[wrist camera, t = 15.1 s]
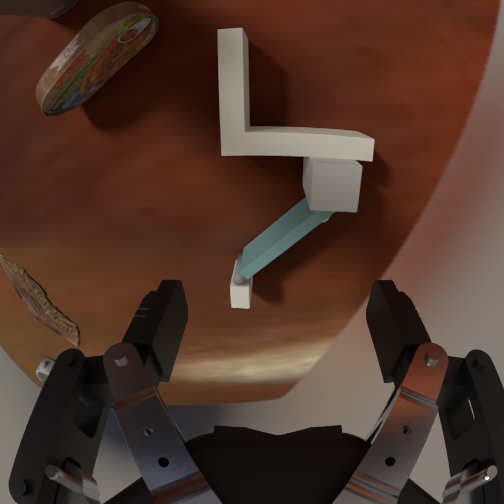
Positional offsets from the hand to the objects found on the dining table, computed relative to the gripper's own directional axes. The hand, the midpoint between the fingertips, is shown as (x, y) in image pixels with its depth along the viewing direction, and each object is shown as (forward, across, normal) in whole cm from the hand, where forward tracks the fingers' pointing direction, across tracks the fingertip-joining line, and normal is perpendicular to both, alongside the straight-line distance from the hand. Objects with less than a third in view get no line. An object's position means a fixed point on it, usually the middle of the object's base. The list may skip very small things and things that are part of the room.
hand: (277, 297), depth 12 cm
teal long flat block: (+20, -1, +7) cm, 21 cm away
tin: (+21, +17, -14) cm, 30 cm away
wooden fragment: (+21, +46, +21) cm, 55 cm away
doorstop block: (+20, -5, 0) cm, 20 cm away
